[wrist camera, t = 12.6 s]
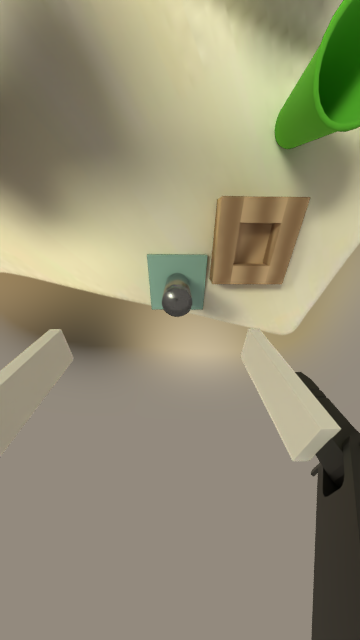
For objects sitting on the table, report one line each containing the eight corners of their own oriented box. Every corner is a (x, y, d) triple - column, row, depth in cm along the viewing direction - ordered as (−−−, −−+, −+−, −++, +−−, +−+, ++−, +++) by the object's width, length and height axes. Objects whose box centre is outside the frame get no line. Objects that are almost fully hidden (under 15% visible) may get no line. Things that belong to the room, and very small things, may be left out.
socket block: (209, 279, 35) (212, 284, 32) (217, 199, 28) (222, 196, 25) (272, 279, 35) (282, 284, 32) (296, 200, 28) (310, 197, 25)
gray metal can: (166, 295, 36) (162, 316, 27) (165, 272, 34) (161, 288, 25) (188, 295, 36) (191, 316, 27) (189, 272, 34) (193, 288, 25)
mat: (152, 308, 38) (151, 309, 38) (147, 254, 32) (147, 254, 32) (202, 308, 39) (202, 309, 38) (207, 254, 33) (207, 255, 32)
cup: (249, 121, 24) (299, 47, 14) (311, 53, 21) (426, -96, 11) (275, 181, 27) (330, 155, 18) (332, 130, 24) (433, 66, 15)
